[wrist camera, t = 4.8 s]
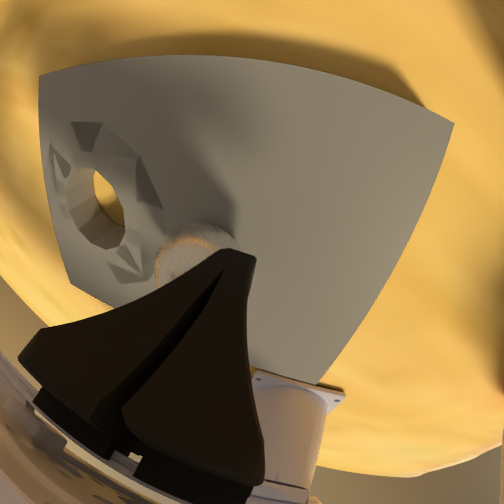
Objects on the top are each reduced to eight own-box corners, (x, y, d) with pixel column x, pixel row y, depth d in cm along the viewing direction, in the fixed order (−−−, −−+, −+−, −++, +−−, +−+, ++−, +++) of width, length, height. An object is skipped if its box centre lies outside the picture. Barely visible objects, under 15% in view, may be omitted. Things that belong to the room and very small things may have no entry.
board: (321, 354, 18) (315, 384, 16) (88, 266, 20) (70, 283, 18) (431, 116, 8) (454, 123, 6) (69, 70, 11) (39, 76, 9)
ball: (247, 324, 11) (163, 338, 9) (214, 274, 13) (144, 279, 12) (272, 252, 9) (172, 257, 7) (230, 209, 12) (150, 206, 10)
